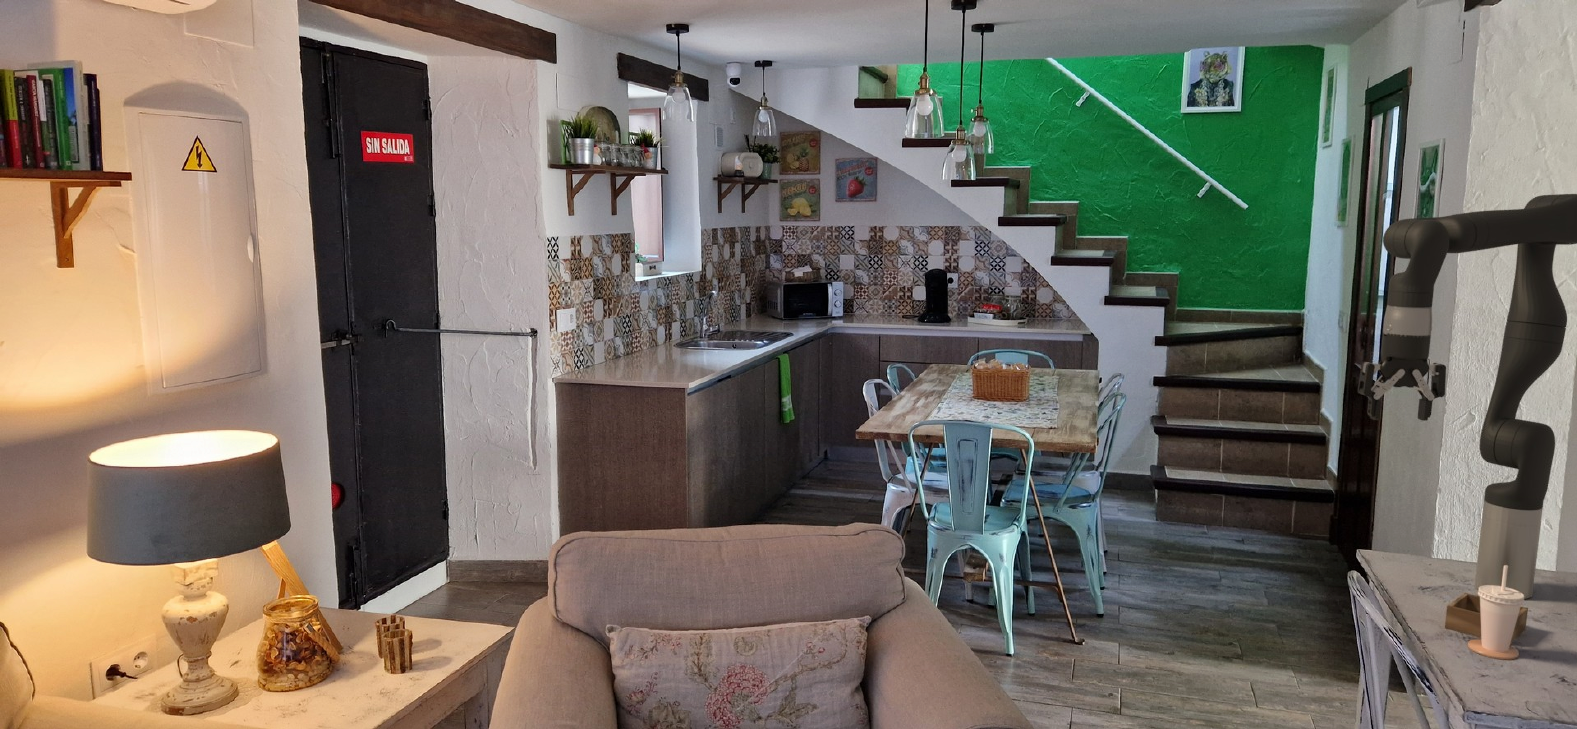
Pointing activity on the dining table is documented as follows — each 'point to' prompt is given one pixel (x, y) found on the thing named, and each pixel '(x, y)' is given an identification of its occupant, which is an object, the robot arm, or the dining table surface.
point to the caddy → (1475, 616)
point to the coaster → (1477, 648)
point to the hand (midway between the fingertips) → (1398, 419)
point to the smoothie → (1498, 614)
